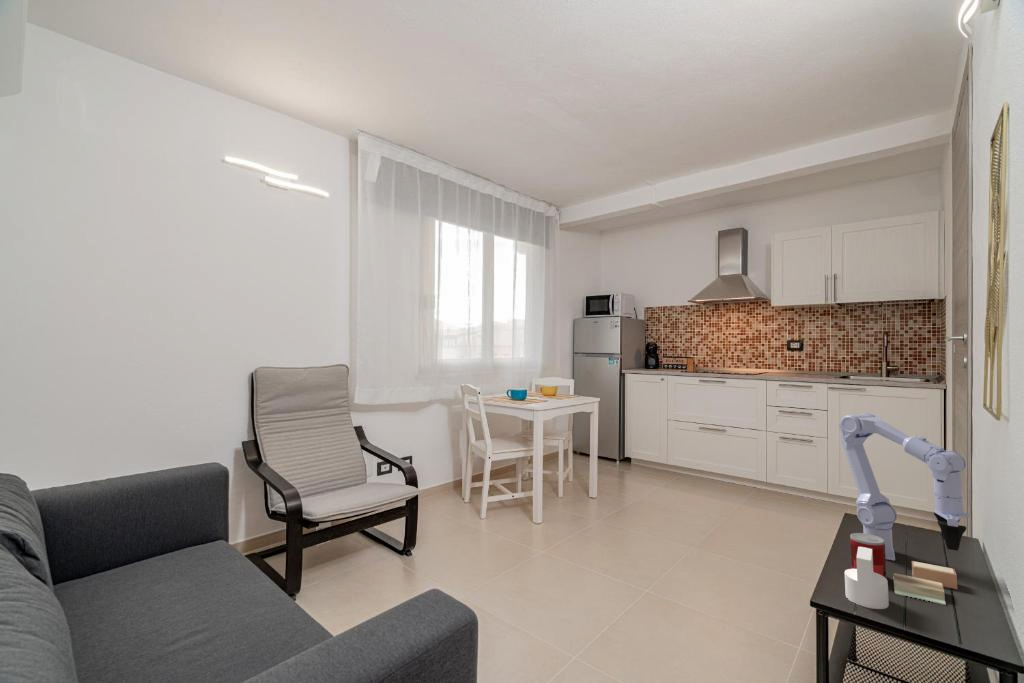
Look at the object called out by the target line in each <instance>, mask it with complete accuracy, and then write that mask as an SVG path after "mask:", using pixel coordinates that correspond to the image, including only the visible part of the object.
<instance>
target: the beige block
mask: <svg viewBox="0 0 1024 683" xmlns="http://www.w3.org/2000/svg"><path fill="white" fill-rule="evenodd" d="M893 577H894V581H893V588H894V587H895V589H899V590H903V591H907V592H912V593H916V594H921V595H925V596H930V597H934V598H939V599H943V600H945V601H946V597H945V596H946V595H945V589H944V587H943V585H942V583H940V582H935V581H930V580H925V579H920V578H915V577H913V576H912V575H911V576H909V575H906V574H900V573H895V572H893Z"/></svg>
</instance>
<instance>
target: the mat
mask: <svg viewBox="0 0 1024 683" xmlns="http://www.w3.org/2000/svg"><path fill="white" fill-rule="evenodd" d="M892 579H893V580H892V581H893V582H894V576H893V577H892ZM893 589H894V594H895V595H898V596H902V597H905V596H908V597H907V598H910V597H912V598H911V599H914V598H917V599H916V600H919V599H921V600H920V601H923V600H925V601H924V602H928V601H930V602H929V603H932V602H933V603H932V604H936V605H941V606H947V603H946V599H945V600H943V599H939V598H934V597H930V596H925V595H921V594H916V593H912V592H907V591H903V590H899V589H895V587H894V586H893Z"/></svg>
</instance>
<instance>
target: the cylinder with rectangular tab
mask: <svg viewBox="0 0 1024 683" xmlns="http://www.w3.org/2000/svg"><path fill="white" fill-rule="evenodd" d="M856 561H857V569H852V568H847V569H845V570H844V586H845V587H844V588H845V589H844V591H845V597H846V599H847V598H848V599H847V600H848V601H850V602H852V603H853V602H854V604H855V603H856V604H855V605H857V606H860V605H861V607H864V608H868V609H872V610H873V609H875V610H884V609H888V607H889V606H890V603H889V602H890V601H889V585H888V583H889V582H888V579H887V577H886V578H885V577H883V576H882V575H880V574H877V573H875V572H873V553H872V549H870V548H865V547H858V551H857V556H856Z"/></svg>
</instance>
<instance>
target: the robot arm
mask: <svg viewBox="0 0 1024 683" xmlns="http://www.w3.org/2000/svg"><path fill="white" fill-rule="evenodd" d="M838 427H839V429H840V433H841V436H840V439H841V445H842V447H843V450H844V454H845V457H846V459H847V461H848V464H849V468H850V469H851V470H850V471H851V473H852V476H853V479H854V481H855V484H856V487H857V490H858V494H859V496H858V498H857V499H856V501H855V505H856V516H857V518H858V520H859V522H860V523H861V525H862V526H863V528H862V530H863V532H862V533H865V534H871V535H875V536H878V537H880V538H882V539H883V540H884V542H885V556H886V560H890V561H894V562H895V561H896V557H895V556H896V555H895V550H894V548H893V546H894V544H893V529H892V527H893V525H894V523H895V522H896V521H897V520H898V513H897V511H896V508H895V507H894V506H893V505H892V504H891V503H890V500H889V498H888V497H887V496H885V495H884V494H882V493H881V490H880V488H879V485H878V483H877V480H876V476H875V475H874V471H873V468H872V466H871V463H870V461H869V458H868V455H867V453H866V450H865V447H864V443H865V442H866V440H867V439H868V438H869V437H871V436H872V435H874V434H878V435H879V436H882V437H884V438H886V439H888V440H890V441H892V442H894V443H895V444H898V445H901V446H902V447H903V451H904V452H906V453H907V454H909V455H910V456H912V457H914V458H916V459H918V460H920V461H921V462H923V463H925V464H927V466H928V468H929V469H930V470H931V474H932V477H933V492H934V493H933V495H934V496H933V497H934V508H933V511H934V512H933V515H934V516H935V518H936V520H937V522H936V523H937V525H938V526H939V528H940V532H941V535H942V536H941V537H942V539H943V540H944V542H945V545H946V546H945V547H946V548H947V550H951V551H955V552H956V551H959V549H960V544H961V540H962V537H963V535H964V534H965V531H966V530H967V526H966V525H962V524H961V525H959V522H960V521H961V520H962V519H963V518H970V513H968V512H964V508H963V507H964V506H963V505H964V503H963V490H962V488H963V486H962V471H964V470H965V469H966V466H967V463H966V460H965V458H964V457H963V456H962V455H961V454H960V453H958V452H957V451H955V450H945V448H944V447H943V446H938V445H936V444H934V443H932V442H929V441H928V440H927V438H926V437H924V436H918V435H914V436H910V435H909V434H908V435H907V433H904V432H903V431H902V430H899V429H898V428H896V427H894V426H893V425H891V424H890V423H888V422H886V421H884V420H883V418H881V417H879V416H876V415H875V414H872V413H869V412H868V413H864V414H863V413H862V414H847V415H846V414H845V415H844V416H842V418H841V419H840V421H839V423H838Z"/></svg>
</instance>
